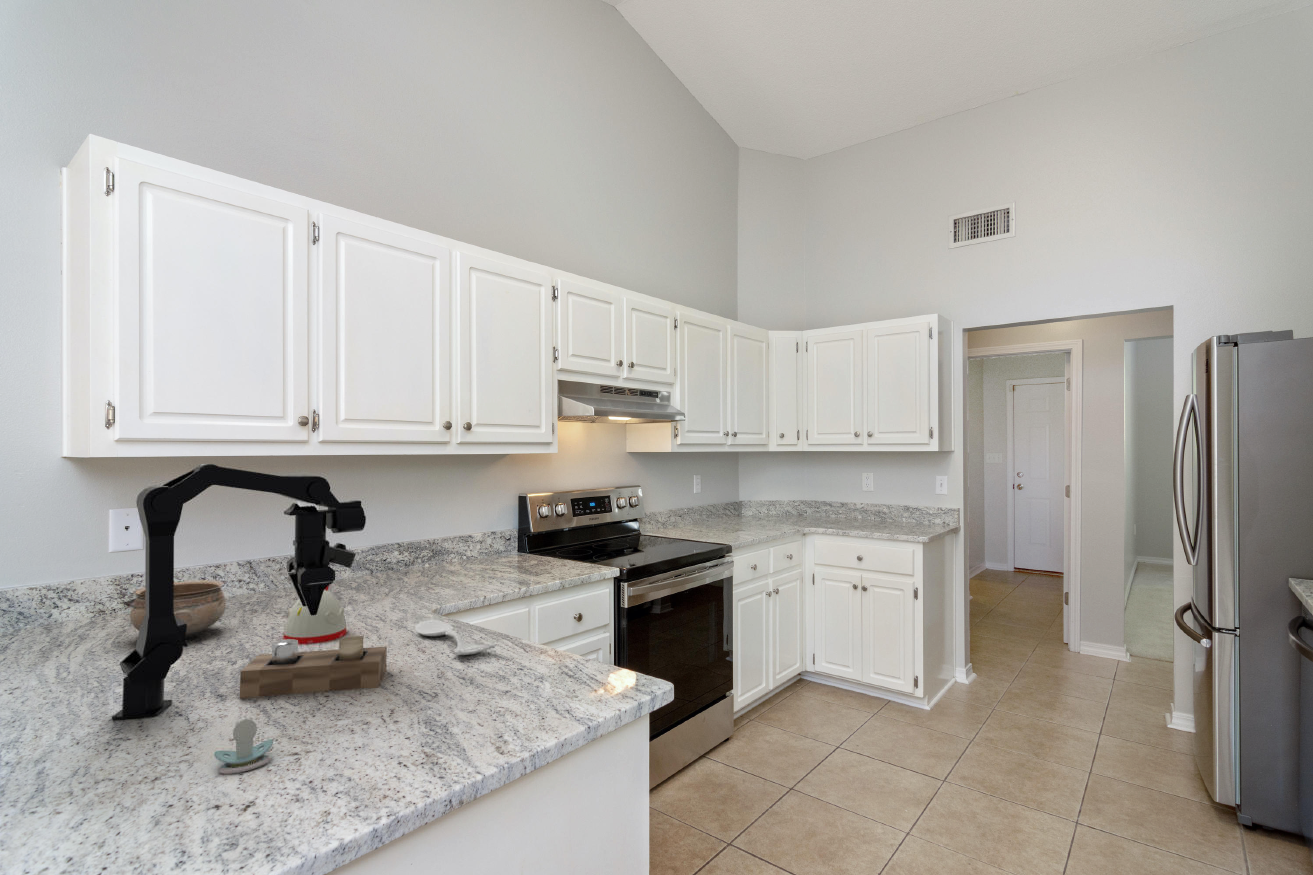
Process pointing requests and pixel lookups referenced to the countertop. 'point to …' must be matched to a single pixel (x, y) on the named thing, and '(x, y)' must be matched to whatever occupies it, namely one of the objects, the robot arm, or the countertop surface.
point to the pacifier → (244, 750)
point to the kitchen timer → (316, 621)
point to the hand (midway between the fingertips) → (309, 610)
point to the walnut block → (313, 673)
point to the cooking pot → (188, 605)
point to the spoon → (444, 628)
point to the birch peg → (351, 647)
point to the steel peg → (285, 652)
